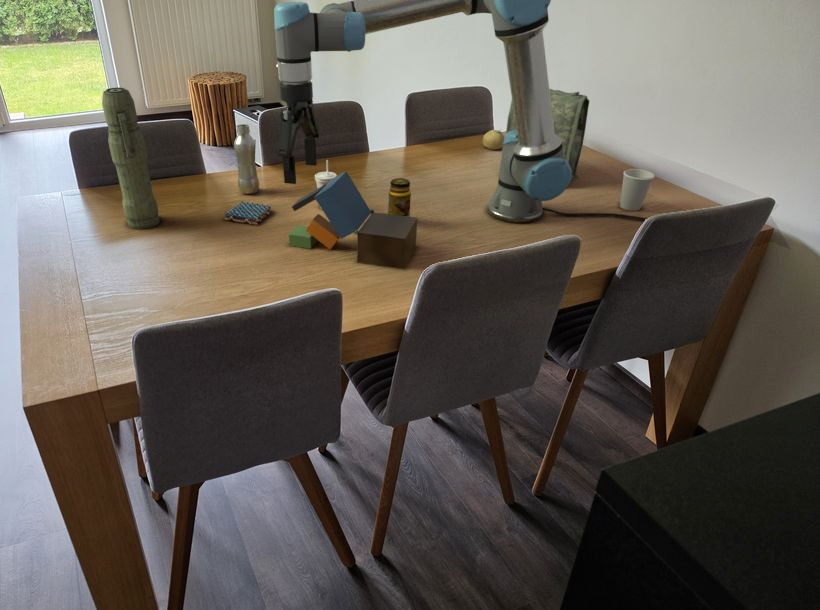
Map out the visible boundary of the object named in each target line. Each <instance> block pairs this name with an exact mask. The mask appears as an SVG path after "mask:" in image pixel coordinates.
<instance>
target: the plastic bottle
mask: <svg viewBox="0 0 820 610" xmlns="http://www.w3.org/2000/svg"><path fill="white" fill-rule="evenodd" d="M250 133H251V130H250V125H249V124H243V123H242V124H237V125H236V134H237V135H236V137H235V139H234V143H233V149H234V153H235V156H236V163H237V173H238V174H237V175H238V178H237V187H238V190H239V191H240V192H241V194H244V195H245V194H246V195H249V194H250V195H251V194H256V192H258V191H259V189H260V180H259V177H258V172H257V166H256V149H257V147H256V145H257V144H256V140H255V139H254V138H253V136H252V135H251V134H250Z"/></svg>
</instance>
